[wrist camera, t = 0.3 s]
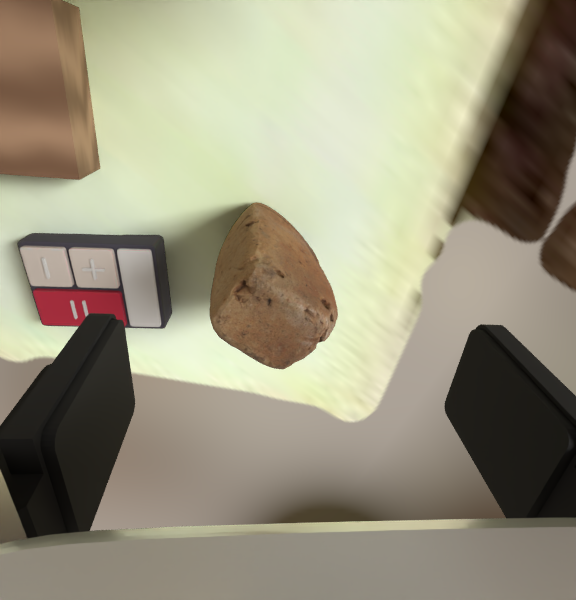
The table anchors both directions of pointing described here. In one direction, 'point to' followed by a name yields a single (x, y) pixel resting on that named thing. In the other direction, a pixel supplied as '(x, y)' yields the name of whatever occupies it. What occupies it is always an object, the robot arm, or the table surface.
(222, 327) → the brown rock
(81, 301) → the calculator
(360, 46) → the table surface
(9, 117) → the walnut block
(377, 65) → the table surface
